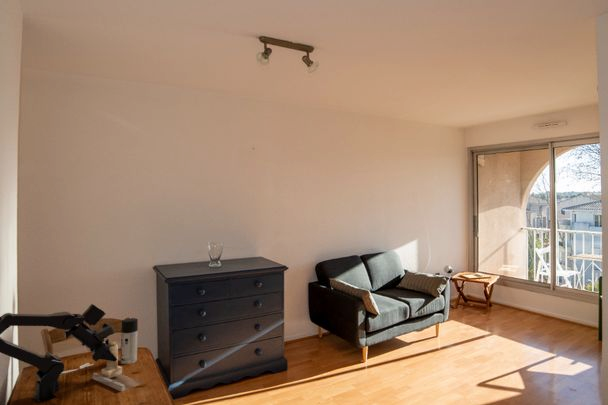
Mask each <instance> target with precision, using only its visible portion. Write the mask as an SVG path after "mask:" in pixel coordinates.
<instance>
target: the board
mask: <svg viewBox="0 0 608 405" xmlns="http://www.w3.org/2000/svg"><path fill="white" fill-rule="evenodd" d="M92 380H93V381H96V382H99V383H101V384H104V385H105V386H107V387H110V388H112V389H114V390H117V391H118V392H121V393H122V392H124V391H127V390H129V389H131V388H134V387H137V386H139V385H141V384H143V382H141V381H140V380H136V379H134V378H133V377H129V376H126V375H125V374H123V373H122V374H119V375H116V376H114V377H111V378H107V377H105V376H102V374H99V373H97V372H93V373H92Z"/></svg>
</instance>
